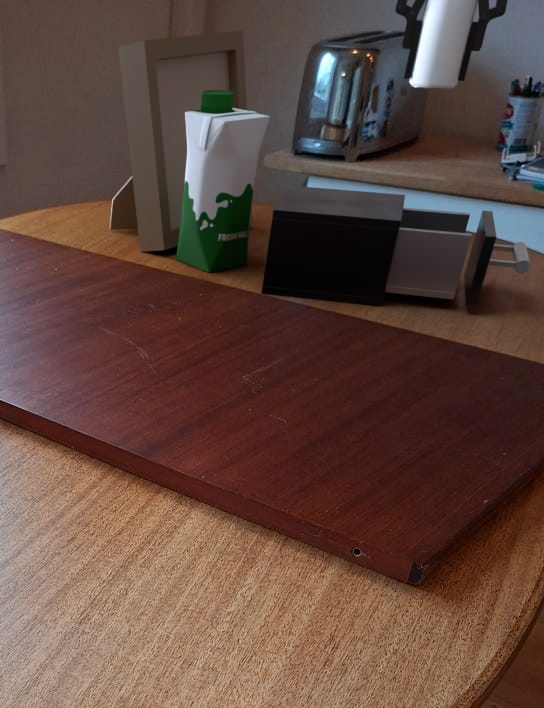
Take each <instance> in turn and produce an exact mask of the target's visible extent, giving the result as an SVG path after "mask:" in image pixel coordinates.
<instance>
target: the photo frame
mask: <svg viewBox="0 0 544 708" xmlns="http://www.w3.org/2000/svg"><path fill="white" fill-rule="evenodd" d="M118 56H119V57H118V58H119V65H120V75H121V84H122V94H123V102H124V111H125V112H124V113H125V120H126V121H125V123H126V131H127V140H128V149H129V150H128V151H129V157H130V159H129V160H130V166H131V167H130V168H131V176H130V177H129V179H127V180H126V182H125V183H124V185H123V186H122V187H121V188H120V189H119V190H118V192H117V193H116V194H115V195H114V197H113V198H112V199H111V209H110V219H109V228H108V229H109V231H123V230H124V231H125V230H137V232H138V242H139V251H140V252H156V251H166V250H169V249H173V248H175V247H178V241H179V234H180V227H181V219H182V208H183V196H184V185H185V173H186V161H187V136H186V121H185V112H188V111H192V110H199V109H201V101H202V92H203V91H208V90H224V91H231V92H234V99H233V108H236V109H241V110H247V111H248V107H247V106H248V105H247V85H246V64H245V63H246V62H245V46H244V29H242V30H241V29H240V30H231V31H223V32H222V31H221V32H212V33H204V34H195V35H185V36H175V37H165V38H164V37H163V38H155V39H147V40H146V39H145V40H142V41H137V42H134V43H129V44H126V45H122V46H118ZM252 206H253V205H252ZM252 206H251V214H250V222H249V224H251V223H252V222H253V212H252V211H253V209H252V208H253V207H252Z"/></svg>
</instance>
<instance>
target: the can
mask: <svg viewBox="0 0 544 708" xmlns="http://www.w3.org/2000/svg"><path fill="white" fill-rule="evenodd" d="M477 5H478V0H425V3H424V9H423V14H422V18H421V20H422V23H421V28H420V32H419V37H418V42H417V46H416V51H415V56H414V60H413V65H412V70H411V75H410V79H408V83H409V84H410V87H412V88H416V89H424V90H451V89H454V88H455V87H456V86H457V85H458V83H459V81H458V79H459V75H460V71H461V67H462V63H463V59H464V55H465V51H466V47H467V42H468V38H469V34H470V30H471V26H472V22H474V18H475V14H476V10H477Z"/></svg>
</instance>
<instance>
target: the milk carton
mask: <svg viewBox="0 0 544 708" xmlns="http://www.w3.org/2000/svg"><path fill="white" fill-rule="evenodd" d="M233 99H234V92H231V91H224V90H208V91H203V92H202V101H201V109H199V110H192V111H188V112H185V121H186V136H187V161H186V173H185V185H184V196H183V208H182V219H181V227H180V234H179V241H178V246H177V249H176V256H175V260H176V261H178V262H180V263H184V264H187V265H189V266H191V267H194V268H196V269H199V270H201V271H204V272H205V273H206V272H207V273H212V272H213V273H214V272H217V271H222V270H228V269H232V268H233V269H234V268H237V267H242V266H247V265H248V258H249V257H248V255H249V236H250V235H249V233H250V223H251V222H250V214H251V206H253V199H254V190H255V183H256V175H257V169H258V160H259V154H260V150H261V147H262V145H263V144H262V143H263V141H264V138H265V134H266V131H267V128H268V124H269V122H270V118H271V116H270V115H266V114H262V113H258V112H257V111H254V110H248V109H247V110H241V109H236V108H233ZM249 222H250V223H249Z"/></svg>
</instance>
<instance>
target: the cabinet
mask: <svg viewBox="0 0 544 708" xmlns="http://www.w3.org/2000/svg"><path fill="white" fill-rule="evenodd" d="M405 200H406V194H400V193H387V192H376V191H363V190H352V189H351V190H349V189H338V188H336V189H335V188H327V187H326V188H323V187H313V186H301V185H300V186H299V185H288V186H287V187H286V189H285V190H284V192H283V193H282V196H281V197H280V199H279V200H278V202H277V204H276V205H275V207H274V208H273V210H272V216H271V217H272V218H271V225H270V231H269V236H268V244H267V251H266V258H265V263H264V264H265V265H264V270H263V271H264V272H263V277H262V278H263V279H262V286H261V292H260V293H261V294H267V295H276V296H284V297H293V298H303V299H310V300H311V299H312V300H321V301H330V302H338V303H339V302H340V303H348V304H357V305H366V306H376V307H382V305H383V302H384V297H385V293H386V292H385V289H386V284H387V280H388V276H389V271H390V267H391V263H392V258H393V254H394V250H395V245H396V241H397V237H398V232H399V228H400V224H401V219H402V212H403V208H404V206H405V205H404V204H405Z"/></svg>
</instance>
